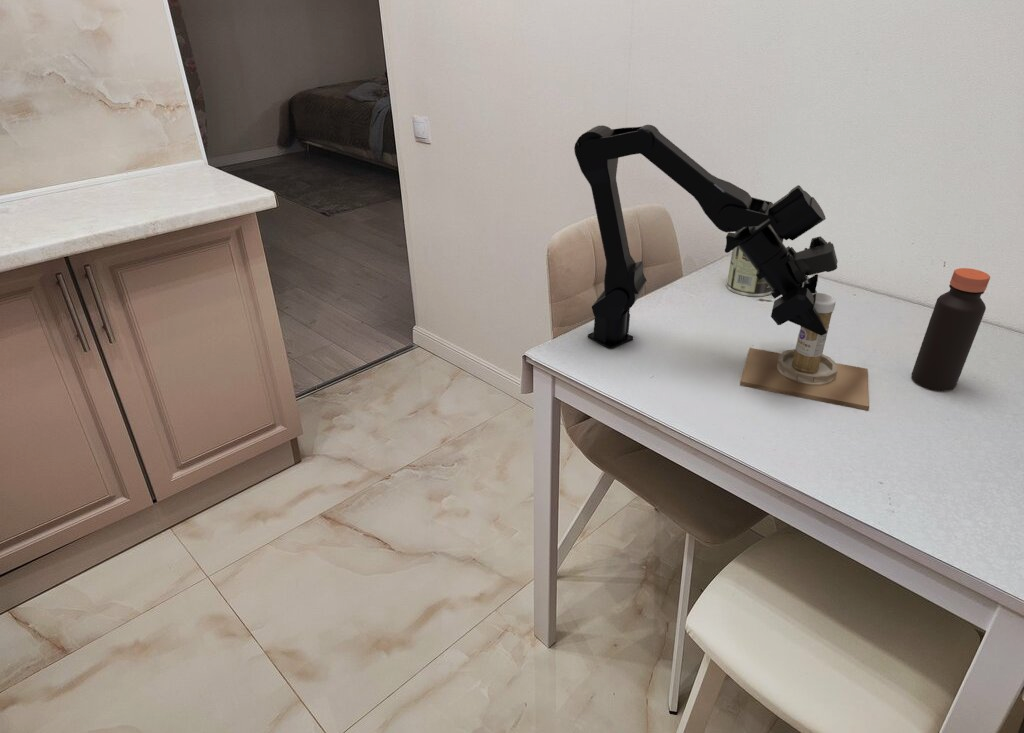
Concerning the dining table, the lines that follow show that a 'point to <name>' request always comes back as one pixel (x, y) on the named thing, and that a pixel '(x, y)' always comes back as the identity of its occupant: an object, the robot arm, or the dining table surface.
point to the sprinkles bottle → (813, 337)
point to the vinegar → (951, 331)
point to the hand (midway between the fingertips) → (824, 327)
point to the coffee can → (746, 275)
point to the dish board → (807, 379)
